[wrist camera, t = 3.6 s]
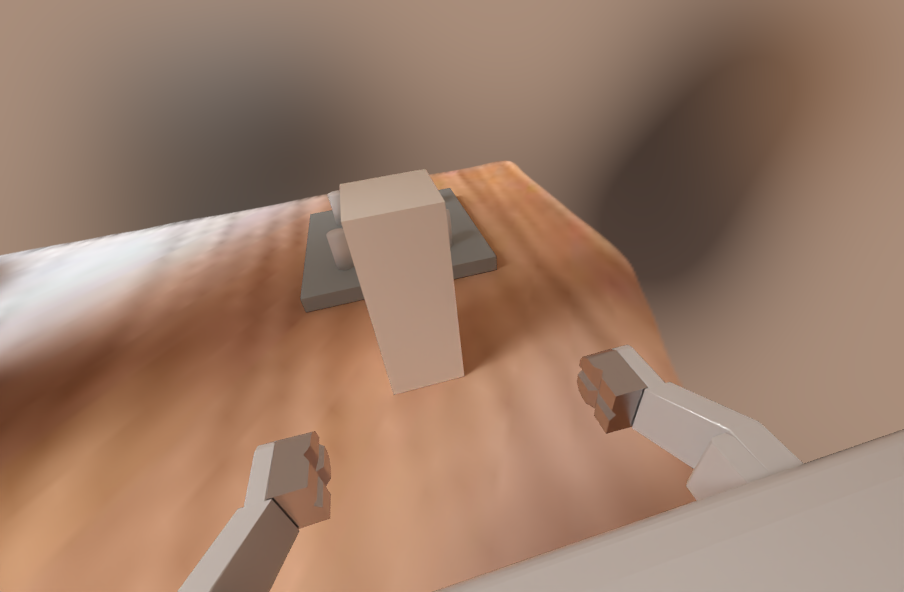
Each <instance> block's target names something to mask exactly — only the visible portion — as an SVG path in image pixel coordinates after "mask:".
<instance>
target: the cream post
mask: <svg viewBox="0 0 904 592" xmlns="http://www.w3.org/2000/svg"><path fill="white" fill-rule="evenodd" d="M340 209H341V224H342V227H343V230H344V234H345V237H346V240H347V243H348V247H349V250H350V253H351V257H352V260H353V263H354V266H355V270H356V273H357V276H358V279H359V283H360V286H361V289H362V293H363V296H364V299H365V302H366V306H367V309H368V312H369V315H370V319H371V322H372V325H373V329H374V332H375V335H376V338H377V342H378V345H379V348H380V352H381V355H382V358H383V361H384V365H385V368H386V371H387V374H388V378H389V381H390V384H391V388H392V391H393V394H394V395H395V394H399V393H403V392H407V391H410V390H414V389H418V388H422V387H426V386H429V385H433V384H437V383H441V382H445V381H448V380H452V379H456V378H460V377H464V369H463V360H462V351H461V342H460V333H459V323H458V314H457V305H456V296H455V287H454V278H453V269H452V260H451V251H450V242H449V233H448V224H447V215H446V206H445V201H444V199H443V197H442V196H441V194H440V192H439V191H438V189H437V188H436V186H435V184H434V183H433V181H432V179H431V178H430V176H429V174H428V173H427V171H426V169H423V170H417V171H411V172H406V173H400V174H395V175H389V176H383V177H378V178H372V179H367V180H362V181H356V182H350V183H345V184H340Z"/></svg>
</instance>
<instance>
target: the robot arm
mask: <svg viewBox="0 0 904 592" xmlns="http://www.w3.org/2000/svg"><path fill="white" fill-rule="evenodd" d="M579 366H580V367H581V368H582V371H581V372H580V373H579V374H578V378H577V384H578V388H579V392H580V394H581V396H582V398H583V399H584V401H585V402H586V404H588V405H590V406H592V407H594V408H595V410H594V416H595V418H596V419H597V421H598V422H599V424H600V425H601V427H602V428H603V430H604V431H605V433H606V434H607V433H611V432H614V431H618V430H621V429H625V428H629V427H632V429H634V430H636V431H637V432H639V433H640V434H642V435H643V436H645V437H646V438H648V439H649V440H651V441H652V442H654V443H655V444H657V445H658V446H660V447H661V448H663V449H664V450H666V451H667V452H669V453H671V454H672V455H674V456H675V457H677V458H678V459H680V460H681V461H683V462H684V463H686V464H687V465H689V466H690V467H692V468H693V469H694V470H693V472H692V473H691V475H690V477H689V479H688V480H687V484H686V487H687V488H688V489H689V491H690V492H691V493H692V495H693V496H694V497H695V499H696V500H697V501H694V502H691V503H688V504H685V505H683V506H680V507H677V508H674V509H671V510H668V511H665V512H662V513H659V514H656V515H654V516H651V517H648V518H645V519H642V520H639V521H636V522H633V523H630V524H627V525H625V526H622V527H619V528H616V529H613V530H610V531H607V532H604V533H601V534H598V535H596V536H593V537H590V538H587V539H584V540H581V541H578V542H575V543H572V544H569V545H567V546H564V547H561V548H558V549H555V550H552V551H549V552H546V553H543V554H540V555H538V556H535V557H532V558H529V559H526V560H523V561H520V562H517V563H514V564H511V565H509V566H506V567H503V568H500V569H497V570H494V571H491V572H488V573H485V574H482V575H480V576H477V577H474V578H471V579H468V580H465V581H462V582H459V583H456V584H453V585H450V586H448V587H445V588H442V589H439V590H436V591H433V592H904V429H903V430H900V431H897V432H894V433H892V434H889V435H886V436H883V437H880V438H877V439H874V440H871V441H868V442H865V443H862V444H860V445H857V446H854V447H851V448H848V449H845V450H843V451H839V452H837V453H833V454H831V455H828V456H825V457H822V458H819V459H816V460H813V461H810V462H807V463H804V464H803V463H802V462H801V461H800V460H799V459H798V458H797V457H796V456H795V455H794V454H793V453H792V452H791V451H790V450H789V449H787V448H786V447H785V446H784V445H783V444H782V443H781V442H780V441H779V440H778V439H777V438H776V437H775V436H774V435H773V434H772V433H770V432H769V431H768V430H767V429H766V428H765V427H764V426H763V425H762V424H761V423H760V422H759V421H757V420H754V419H752V418H750V417H748V416H745V415H743V414H741V413H739V412H737V411H734V410H732V409H730V408H727V407H725V406H723V405H721V404H719V403H716V402H714V401H712V400H709V399H707V398H705V397H703V396H700V395H698V394H696V393H694V392H691V391H689V390H687V389H685V388H682V387H680V386H678V385H676V384H673V383H671V382H667V383H665V382H664V381H663V380H662V379H661V378H660V377H659V376H658V375H657V374H656V372H655V371H654V370H653V369H652V368H651V367H650V366H649V365H648V364H647V363H646V362H645V361H644V360H643V358H642V357H641V356H640V355H639V354H638V353H637V352H636V351H635V350H634V349H633V348H632V347H631V346H629V345H624V346H620V347H617V348H613V349H608V350H605V351H601V352H598V353H594V354H591V355H587V356H584V357H582V358H581V359H580V364H579ZM330 479H331V466H330V459H329V455H328V452H327V450H326V448H325V446H323V445H320V444H319V436H318V435H317V433H316V432H315V431H314V432H310V433H306V434H302V435H298V436H294V437H290V438H286V439H282V440H278V441H274V442H270V443H266V444H263V445H259V446H258V447H257V449H256V450H255V452H254V457H253V462H252V467H251V472H250V477H249V483H248V488H247V493H246V498H245V503H244V507H242V508H239V509H237V511H236V512H235V514H234V515H233V516H232V518H231V519H230V520H229V522H228V523H227V524H226V526H225V527H224V529H223V530H222V531H221V533H220V534H219V535H218V537H217V538H216V540H215V541H214V542H213V544H212V545H211V546H210V548H209V549H208V550H207V552H206V553H205V555H204V556H203V557H202V559H201V560H200V561H199V563H198V564H197V565H196V567H195V568H194V570H193V571H192V572H191V574H190V575H189V576H188V578H187V579H186V581H185V582H184V583H183V585H182V586H181V587H180V589H179V590H178V591H177V592H269V591H270V589H271V587H272V585H273V583H274V581H275V579H276V577H277V575H278V573H279V571H280V569H281V567H282V565H283V563H284V561H285V559H286V557H287V555H288V553H289V551H290V549H291V547H292V545H293V543H294V541H295V539H296V537H297V535H298V533H299V529H300V528H303V527H306V526H309V525H312V524H315V523H318V522H321V521H324V520H327V519H330V505H331V494H330V492H329V491H328V489H327V487H326V486H327V484H328V482H329V481H330Z"/></svg>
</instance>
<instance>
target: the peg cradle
mask: <svg viewBox="0 0 904 592" xmlns="http://www.w3.org/2000/svg"><path fill="white" fill-rule="evenodd" d="M438 191H439V192H440V194H441V196H442V197H443V199H444V201H445V206H446V215H447V224H448V233H449V242H450V251H451V260H452V269H453V278H454V279H457V278H461V277H466V276H470V275H475V274H479V273H484V272H488V271H492V270H497V262H496V255H495V254H494V252H493V251H492V249H491V248H490V246H489V245H488V243H487V242H486V240H485V239H484V237H483V236H482V234H481V233H480V231H479V230H478V229H477V227H476V226H475V224H474V223H473V221H472V220H471V218H470V217H469V215H468V214H467V212H466V211H465V209H464V208H463V206H462V205H461V204H460V202H459V201H458V199H457V198H456V196H455V195H454V193H453V192H452V190H451V189H450V188H447V189H442V190H438ZM328 198H329V201H330V204H331V208H332V210H331V211H325V212H320V213H315V214H310V223H309V231H308V239H307V248H306V256H305V264H304V273H303V281H302V289H301V298H300V300H301V302H302V304H303V307H304V309H305V311H306V312H310V311H314V310H319V309H323V308H328V307H332V306H336V305H341V304H345V303H350V302H354V301H359V300H363V299H364V296H363V293H362V289H361V286H360V283H359V279H358V276H357V273H356V270H355V266H354V263H353V260H352V257H351V253H350V250H349V247H348V243H347V240H346V237H345V234H344V230H343V227H342V224H341V209H340V190H337V191H333V192H330V193H329V194H328Z"/></svg>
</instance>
